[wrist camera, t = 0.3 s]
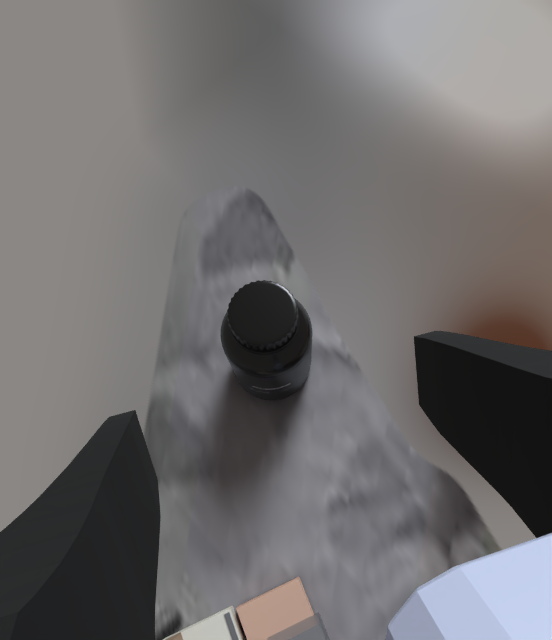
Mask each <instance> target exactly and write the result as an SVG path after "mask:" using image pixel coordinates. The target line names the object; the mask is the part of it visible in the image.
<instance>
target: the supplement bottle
mask: <svg viewBox="0 0 552 640" xmlns="http://www.w3.org/2000/svg"><path fill="white" fill-rule="evenodd" d="M221 342H222V346H223V349H224V352H225V354H226V356H227V358H228V361H229V363H230V365H231V367H232V369H233V371H234V373H235V375H236V377H237V379H238V381H239V383H240V384H241V385H242V387H243V388H244V389H245V390H246V391H247V392H249V393H250V394H252V395H253V396H255V397H258V398H261V399H265V400H278V399H283V398H286V397H288V396H290V395H292V394H293V393H295V392H296V391H297V390H298V389H300V388H301V386H302V385H303V384H304V382H305V381H306V379H307V377H308V374H309V371H310V365H311V349H312V326H311V321H310V318H309V316H308V313H307V312H306V310H305V308H304V307H303V306H302V305H301V304H300V303H299V302H298V301H297V300H296V299H295V298H293V295H292V294H290V292H289V290H287V289H285V287H284V286H281V285H279V284H278V283H274V282H272V281H265V280H264V281H256V282H251V283H250V284H247V285H245V286H244V287H243V288H240V289H239V291H238V292H236V293H235V294H234V297H232V298H231V302H230V303H229V309H228V310H227V313H226V315H225V317H224V319H223V322H222V326H221Z"/></svg>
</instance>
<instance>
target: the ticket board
mask: <svg viewBox="0 0 552 640" xmlns="http://www.w3.org/2000/svg"><path fill="white" fill-rule="evenodd" d="M163 640H244V637H243V634H242V631H241V628H240V625H239V622H238V619H237V616H236V614H235V611H234V608H233V605H232V606H230V607H228V608H226V609H224V610H222V611H220V612H218V613H216V614H214V615H212V616H210V617H207V618H205V619H203V620H201V621H199V622H197V623H195V624H193V625H191V626H189V627H187V628H185V629H183V630H181V631H179V632H177V633H175V634H173V635H170V636H168V637H166V638H164V639H163Z"/></svg>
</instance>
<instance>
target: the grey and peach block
mask: <svg viewBox="0 0 552 640" xmlns="http://www.w3.org/2000/svg"><path fill="white" fill-rule="evenodd" d="M236 609H237V612H238V615H239V618H240V621H241V624H242V627H243V629H244V632H245V635H246V638H247V640H330V639H329V637H328V634H327V632H326V629H325V627H324V624H323V622H322V619H321V617H320V614H319V612H318V613H316V614H314V612H313V610H312V607H311V605H310V602H309V600H308V597H307V595H306V592H305V590H304V587H303V585H302V582H301V580H300V577H297V578H295V579H293V580H291V581H289V582H287V583H285V584H283V585H280V586H278V587H276V588H274V589H272V590H270V591H268V592H266V593H264V594H262V595H260V596H258V597H256V598H254V599H252V600H250V601H248V602H246V603H244V604H241V605H239V606H238V607H237V608H236Z"/></svg>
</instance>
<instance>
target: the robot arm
mask: <svg viewBox="0 0 552 640" xmlns="http://www.w3.org/2000/svg"><path fill="white" fill-rule="evenodd" d="M414 344H415V357H416V370H417V382H418V395H419V405H420V407H421V408H422V409H423V411H424V412H425V414H426V415H427V417H428V418H429V419H430V421H431V422H432V423H433V425H434V426H435V427H436V429H437V430H438V431H439V432H440V434H441V435H442V436H443V437H444V438H445V439H446V440H447V441H448V442H449V443H450V444H451V445H452V446H453V447H454V448H455V449H456V450H457V451H458V453H459V454H460V455H461V456H462V457H464V458H465V460H466V461H467V462H468V463H469V464H470V465H471V466H472V467H473V468H474V469H475V470H476V471H477V472H478V473H479V474H480V475H482V477H483V478H484V479H485V480H486V481H487V482H488V483H489V484H490V485H492V487H493V488H494V489H495V490H496V491H497V492H498V493H499V494H500V495H501V496H502V497H503V498H504V499H505V500H506V501H507V502H508V503H509V505H510V506H511V507H512V508H513V509H514V511H515V512H516V513H517V514H518V515H519V517H520V518H521V519H522V520H523V522H524V523H525V524H526V525H527V527H528V528H529V529H530V530H531V532H532V533H533V534H534V535H535V537H536V539H533V540H530V541H527V542H524V543H521V544H518V545H515V546H513V547H510V548H507V549H504V550H501V551H498V552H495V553H492V554H489V555H487V556H484V557H481V558H478V559H475V560H472V561H469V562H466V563H463V564H461V565H458V566H455V567H453V568H451V569H449V570H448V571H446V572H444V573H442V574H441V575H439V576H437V577H435V578H434V579H432V580H430V581H428V582H427V583H425V584H423V585H421V586H420V587H418V588H417V589H416V590H415V591H414V592H413V594H412V595H411V596H410V597H409V599H408V600H407V601H406V602H405V604H404V605H403V606H402V607H401V608H400V610H399V611H398V612H397V613H396V615H395V616H394V617H393V618H392V620H391V622H390V624H389V626H388V629H387V634H386V639H385V640H552V351H549V350H542V349H535V348H530V347H524V346H519V345H513V344H508V343H503V342H498V341H493V340H488V339H483V338H479V337H473V336H468V335H463V334H458V333H451V332H443V331H434V332H430V333H426V334H422V335H418V336H414ZM159 534H160V503H159V491H158V480H157V476H156V473H155V470H154V467H153V464H152V461H151V458H150V455H149V452H148V449H147V445H146V442H145V439H144V436H143V433H142V430H141V427H140V424H139V421H138V418H137V414H136V411H135V410H134V411H130V412H126V413H122V414H119V415H115V416H111V417H109V418H108V419H107V420H106V421H105V422H104V423H103V424H102V425H101V427H100V428H99V429H98V430H97V432H96V433H95V434H94V436H92V438H91V439H90V440H89V441H88V443H87V444H86V445H85V446H84V447H83V449H82V450H81V451H80V452H79V454H78V455H77V456H76V457H75V458H74V460H73V461H72V462H71V463H70V464H69V465H68V467H67V468H66V469H65V470H64V471H63V472H62V473H61V474H60V475H59V476H58V477H57V478H56V479H55V480H54V482H53V483H52V484H51V485H50V486H49V487H48V488H47V489H46V490H45V491H44V492H43V494H41V496H40V497H39V498H37V499H36V501H34V503H32V504H31V505H30V506H29V507H28V508H27V509H26V510H25V511H24V512H23V513H22V514H21V515H19V516H18V517H17V518H16V519H15V520H14V521H13V522H12V523H11V524H9V525H8V526H7V527H6V528H5V529H4V530H2V531H1V532H0V640H155V599H156V583H157V567H158V551H159Z"/></svg>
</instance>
